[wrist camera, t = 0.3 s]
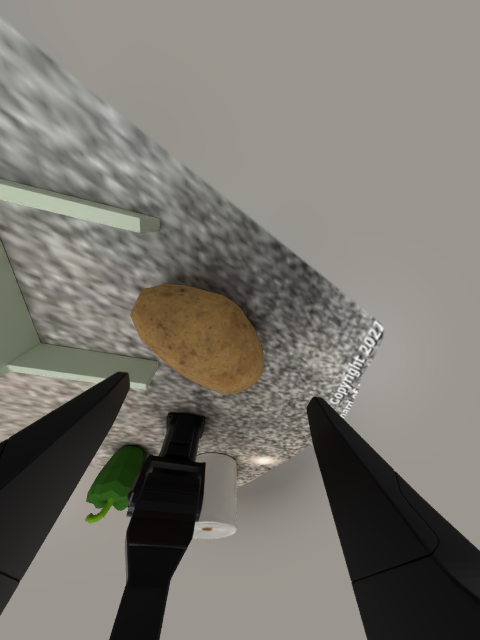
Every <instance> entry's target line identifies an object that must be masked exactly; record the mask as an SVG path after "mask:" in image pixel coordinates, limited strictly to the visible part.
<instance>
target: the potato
mask: <svg viewBox="0 0 480 640" xmlns="http://www.w3.org/2000/svg"><path fill="white" fill-rule="evenodd" d="M130 316H131V318H132V320H133V322H134V325H135V327H136V329H137V332H138V334H139V336H140V338H141V340H142V341H143V342H144V343H145V344H146V345H147V346H148V347H149V348H150V349H151V350H152V351H153V352H154V353H155V354H156V355H158V356H159V357H160V358H161V359H162V360H163V361H164V362H165V363H167V364H168V365H169V366H170V367H172V368H173V369H174V370H175V371H177V372H178V373H179V374H181V375H183V376H185V377H186V378H188V379H190V380H192V381H194V382H196V383H198V384H200V385H202V386H204V387H206V388H209V389H211V390H214V391H216V392H219V393H223V394H236V393H239V392H242V391H245V390H248V389H249V388H251V387H252V386H253V385H254V384H255V383H256V382H257V381H258V380H259V378H260V377H261V376H262V373H263V369H264V356H263V350H262V346H261V343H260V340H259V338H258V336H257V333H256V331H255V329H254V328H253V326H252V325H251V323H250V322H249V320H248V319H247V317H246V316H245V314H244V313H243V312H242V310H241V309H240V307H239V306H238V305H236V304H235V303H234V302H233V301H231V300H229V299H228V298H226V297H225V296H223V295H220V294H217V293H213V292H209V291H205V290H202V289H198V288H194V287H191V286H187V285H178V284H164V285H160V286H155V287H151V288H146V289H142V291H141V293H140V295H139V297H138V299H137V301H136V303H135V305H134V307H133V309H132V312H131V314H130Z"/></svg>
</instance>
